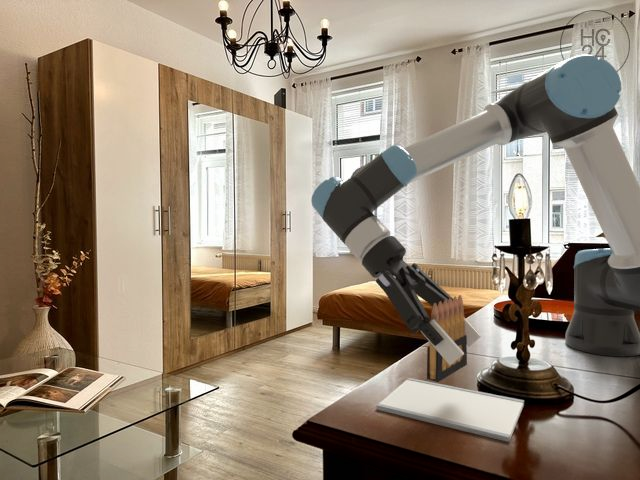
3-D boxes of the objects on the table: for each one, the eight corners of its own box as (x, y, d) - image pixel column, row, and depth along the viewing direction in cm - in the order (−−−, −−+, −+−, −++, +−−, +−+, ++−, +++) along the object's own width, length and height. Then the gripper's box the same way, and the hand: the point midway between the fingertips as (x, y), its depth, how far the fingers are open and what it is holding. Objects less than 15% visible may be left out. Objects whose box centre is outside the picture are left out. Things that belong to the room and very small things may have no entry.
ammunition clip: (437, 382, 66) (437, 304, 65) (426, 379, 67) (426, 302, 66) (467, 364, 73) (467, 294, 73) (456, 362, 75) (457, 293, 74)
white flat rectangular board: (524, 404, 71) (524, 400, 71) (509, 442, 59) (509, 437, 59) (408, 381, 82) (408, 377, 82) (376, 409, 70) (376, 405, 70)
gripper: (388, 257, 87) (467, 345, 80) (329, 269, 68) (426, 386, 60) (413, 231, 84) (498, 320, 76) (359, 236, 65) (465, 355, 57)
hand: (466, 349), depth 68 cm, fingers closed on ammunition clip, 10 cm apart
